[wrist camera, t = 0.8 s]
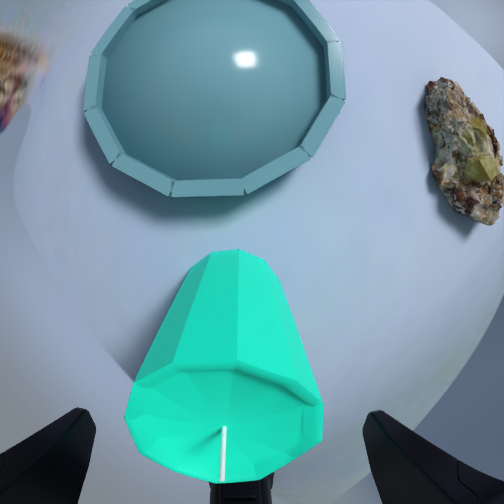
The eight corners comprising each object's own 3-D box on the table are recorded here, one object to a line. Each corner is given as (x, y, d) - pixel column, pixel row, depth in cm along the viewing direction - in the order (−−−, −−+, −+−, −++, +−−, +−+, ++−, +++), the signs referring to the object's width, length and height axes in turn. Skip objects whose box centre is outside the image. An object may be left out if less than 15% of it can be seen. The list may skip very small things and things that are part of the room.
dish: (336, 196, 16) (348, 199, 14) (97, 201, 15) (81, 205, 13) (325, -6, 12) (333, -21, 10) (114, 5, 12) (103, -8, 10)
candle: (207, 351, 18) (181, 520, 6) (165, 270, 16) (62, 419, 5) (294, 321, 18) (352, 490, 6) (261, 233, 16) (310, 368, 5)
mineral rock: (526, 192, 14) (498, 248, 13) (487, 194, 18) (450, 244, 17) (475, 62, 12) (434, 76, 10) (437, 78, 16) (386, 100, 15)
